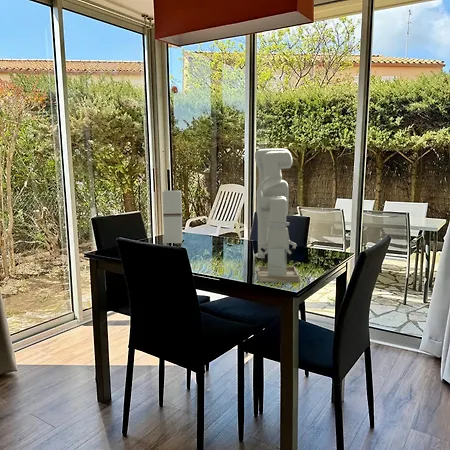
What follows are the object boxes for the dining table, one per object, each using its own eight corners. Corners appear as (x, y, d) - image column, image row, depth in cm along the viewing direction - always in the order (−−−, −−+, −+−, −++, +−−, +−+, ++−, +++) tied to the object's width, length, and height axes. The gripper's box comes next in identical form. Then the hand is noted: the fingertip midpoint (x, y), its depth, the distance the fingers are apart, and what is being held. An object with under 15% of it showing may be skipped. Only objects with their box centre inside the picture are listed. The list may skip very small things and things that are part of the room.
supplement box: (286, 272, 193) (287, 246, 192) (283, 276, 187) (283, 249, 185) (271, 271, 196) (271, 245, 194) (267, 275, 189) (267, 248, 187)
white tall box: (182, 243, 276) (181, 190, 271) (182, 246, 266) (180, 191, 261) (165, 243, 275) (163, 190, 270) (164, 246, 265) (162, 191, 260)
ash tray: (257, 271, 200) (257, 266, 200) (294, 271, 200) (295, 266, 199) (258, 281, 183) (258, 276, 182) (299, 282, 182) (299, 276, 181)
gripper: (296, 223, 191) (295, 260, 193) (258, 224, 192) (258, 260, 194) (298, 226, 184) (297, 264, 186) (258, 226, 184) (258, 264, 187)
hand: (277, 262), depth 190 cm, fingers open, 9 cm apart
